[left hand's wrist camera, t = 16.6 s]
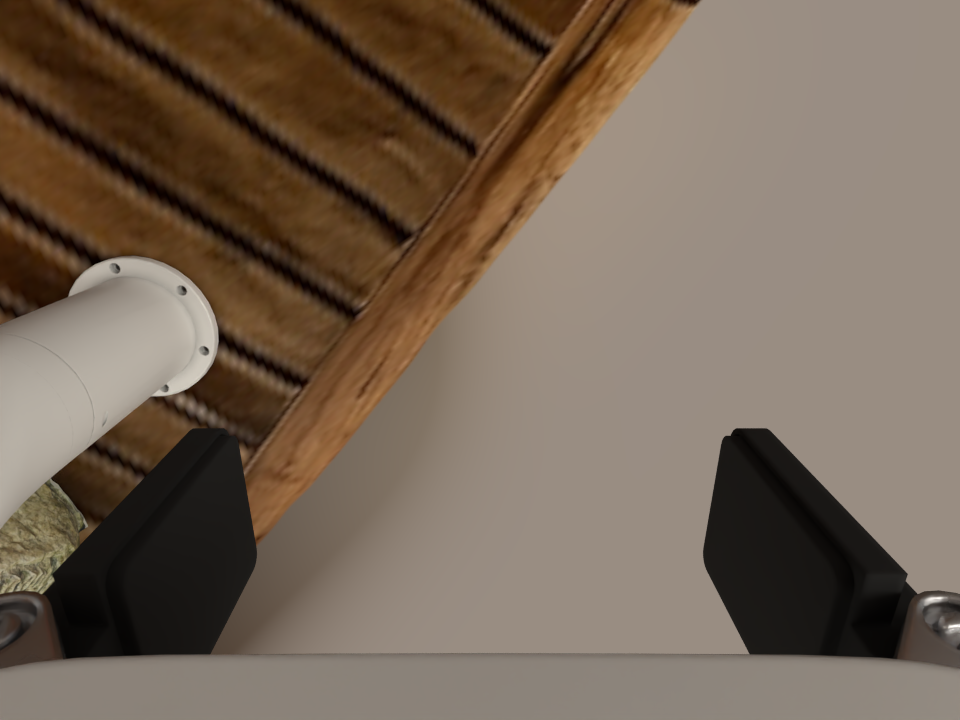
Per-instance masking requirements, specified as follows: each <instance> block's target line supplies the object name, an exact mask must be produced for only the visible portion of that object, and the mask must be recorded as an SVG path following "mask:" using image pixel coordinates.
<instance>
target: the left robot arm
mask: <svg viewBox="0 0 960 720" xmlns="http://www.w3.org/2000/svg"><path fill="white" fill-rule="evenodd" d="M118 265H119V266H118ZM119 267H120V268H119ZM184 287H185V288H186V290H185V289H184ZM218 342H219V339H218V327H217V323H216V319H215V315H214V313H213V311H212V309H211V306H210V304H209V302H208V301H207V299H206V298H205V296H204V295H203V294H202V292H201V291H200V289H199V288H198V287H197V286H196V285H195V284H194V283H193V282H192V281H191V280H190V279H189V278H187V277H186V276H185V275H183V274H182V273H181V272H179V271H178V270H176V269H174V268H173V267H171V266H169V265H167V264H165V263H163V262H160V261H157V260H154V259H151V258H146V257H139V256H120V257H116V258H112V259H107V260H105V261H102V262H100V263H97V264H95V265H93V266H92V267H90V268H89V269H87V270H86V271H84V272H83V273H82V274H81V275H80V276H79V278H78V279H77V280H76V281H75V283H74V285H73V286H72V288H71V290H70V292H69V296H68V297H67V298H65V299H62V300H60V301H57V302H55V303H52V304H50V305H47V306H45V307H42V308H40V309H37V310H35V311H33V312H30V313H28V314H25V315H23V316H20V317H18V318H15V319H13V320H10V321H8V322H5V323H3V324H1V325H0V529H1V528H2V526H3V525H4V524H5V523H6V522H7V520H8V519H9V518H10V517H11V516H12V515H13V513H14V512H15V511H16V510H17V509H18V508H19V507H20V506H21V505H22V504H23V503H24V502H25V501H26V500H27V499H28V498H29V497H30V496H31V495H32V494H33V493H34V492H35V491H36V490H38V489H39V488H40V487H41V486H42V485H43V484H44V483H45V482H47V481H48V480H49V479H50V478H51V477H52V476H54V475H55V474H56V473H57V472H58V471H59V470H61V469H62V468H63V467H64V466H65V465H67V464H68V463H69V462H70V461H72V460H73V459H74V458H75V457H77V456H78V455H79V454H80V453H82V452H83V451H84V450H85V449H87V448H88V447H89V446H90V445H91V444H93V443H94V442H95V441H96V440H98V439H99V438H100V437H101V436H103V435H104V434H105V433H106V432H107V431H109V430H110V429H111V428H112V427H114V426H115V425H116V424H117V423H118V422H120V421H121V420H122V419H123V418H125V417H126V416H127V415H128V414H130V413H131V412H132V411H133V410H134V409H136V408H137V407H138V406H139V405H141V404H142V403H143V402H144V401H146V400H147V399H148V398H149V397H150V396H166V395H171V394H176V393H179V392H181V391H183V390H185V389H188V388H189V387H191V386H192V385H193V384H195V383H196V382H198V381H199V380H200V379H201V378H202V377H203V376H204V375H205V374H206V373H207V371H208V370H209V368H210V367H211V365H212V364H213V361H214V359H215V356H216V354H217V348H218ZM206 347H207V348H208V349H209V350H208V349H207V348H206ZM256 558H257V549H256V543H255V537H254V531H253V525H252V519H251V513H250V508H249V502H248V496H247V490H246V484H245V478H244V472H243V467H242V461H241V455H240V449H239V444H238V440H237V438H236V437H235V436H229V434H228V432H227V430H225V429H224V428H195V429H192V430H190V431H189V432H188V433H187V434H186V435H185V436H184V437H183V438H182V439H181V440H180V441H179V443H178V444H177V445H176V446H175V447H174V448H173V449H172V450H171V451H170V452H169V453H168V454H167V455H166V456H165V457H164V458H163V459H162V460H161V461H160V462H159V463H158V464H157V465H156V467H155V468H154V469H153V470H152V471H151V472H150V473H149V474H148V475H147V476H146V477H145V478H144V479H143V480H142V481H141V482H140V483H139V484H138V485H137V486H136V487H135V488H134V489H133V490H132V492H131V493H130V494H129V495H128V496H127V497H126V498H125V499H124V500H123V501H122V502H121V503H120V504H119V505H118V506H117V507H116V508H115V509H114V510H113V511H112V512H111V513H110V514H109V515H108V517H107V518H106V519H105V520H104V521H103V522H102V523H101V524H100V525H99V526H98V527H97V528H96V529H95V530H94V531H93V532H92V533H91V534H90V535H89V536H88V537H87V538H86V539H85V540H84V542H83V543H82V544H81V545H80V546H79V547H78V548H77V549H76V550H75V551H74V552H73V553H72V554H71V555H70V556H69V557H68V558H67V559H66V560H65V561H64V562H63V563H62V564H61V566H60V567H59V568H58V569H57V570H56V571H55V572H54V573H53V574H52V575H53V578H54V582H53V583H52V584H51V585H50V587H49V588H48V589H47V590H46V591H45V592H44V593H43V594H40V593H38V592H35V591H15V592H8V593H2V594H0V720H960V594H958V593H952V592H945V591H925V592H922V593H920V594H917V593H916V592H915V591H914V590H913V589H912V588H911V587H910V586H909V584H908V583H907V582H906V578H907V575H908V574H907V573H906V572H905V571H904V570H903V569H902V568H901V567H900V566H899V564H898V563H897V562H896V561H895V560H894V559H893V558H892V557H891V556H890V555H889V554H888V553H887V552H886V551H885V550H884V549H883V548H882V547H881V546H880V545H879V544H878V543H877V542H876V540H875V539H874V538H873V537H872V536H871V535H870V534H869V533H868V532H867V531H866V530H865V529H864V528H863V527H862V526H861V525H860V524H859V523H858V522H857V521H856V520H855V519H854V518H853V517H852V515H851V514H850V513H849V512H848V511H847V510H846V509H845V508H844V507H843V506H842V505H841V504H840V503H839V502H838V501H837V500H836V499H835V498H834V497H833V496H832V495H831V494H830V493H829V492H828V490H827V489H825V487H824V486H823V485H822V484H821V483H820V482H819V481H818V480H817V479H816V478H815V477H814V476H813V475H812V474H811V473H810V472H809V471H808V470H807V469H806V468H805V467H804V465H803V464H802V463H801V462H800V461H799V460H798V459H797V458H796V457H795V456H794V455H793V454H792V453H791V452H790V451H789V450H788V449H787V448H786V447H785V446H784V445H783V444H782V443H781V441H780V440H779V439H778V438H777V437H776V436H775V435H774V434H773V433H772V432H771V431H770V430H768V429H765V428H737V429H735V430H733V432H732V434H731V436H725V437H724V438H723V440H722V444H721V449H720V455H719V461H718V467H717V473H716V478H715V484H714V490H713V496H712V502H711V508H710V513H709V519H708V525H707V531H706V537H705V543H704V549H703V558H704V564H705V567H706V570H707V572H708V574H709V576H710V578H711V580H712V582H713V584H714V585H715V587H716V589H717V591H718V593H719V595H720V597H721V599H722V601H723V603H724V605H725V607H726V609H727V611H728V613H729V615H730V617H731V619H732V621H733V622H734V624H735V626H736V628H737V630H738V632H739V634H740V636H741V638H742V640H743V642H744V644H745V646H746V648H747V650H748V652H749V654H560V653H556V654H555V653H430V654H429V653H425V654H424V653H422V654H216V655H215V654H212V655H210V654H211V652H212V650H213V648H214V646H215V644H216V642H217V640H218V638H219V636H220V634H221V632H222V630H223V628H224V626H225V624H226V623H227V621H228V619H229V617H230V615H231V613H232V611H233V609H234V607H235V605H236V603H237V601H238V599H239V597H240V595H241V593H242V591H243V589H244V587H245V585H246V584H247V581H248V580H249V578H250V576H251V574H252V572H253V570H254V567H255V564H256Z"/></svg>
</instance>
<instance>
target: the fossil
mask: <svg viewBox="0 0 960 720" xmlns="http://www.w3.org/2000/svg"><path fill="white" fill-rule="evenodd" d="M86 527H88V525H87V523H86V521H85V519H84V517H83V515H82V513H81V512H80V511H79V510H78V509H77V508H76V507H75V505H74V504H73V503H72V501H71V500H70V498H69V497H68V496H67V495H66V494H65V493H64V492H63V490H62V489H61V488H60V487H59V485H58V484H57V483H55V482H54V481H52V479H51V478H50V479H49V480H48V481H47V482H45V483H44V484H43V485H42V486H41V487H40V488H39V489H38V490H36V491H35V492H34V493H33V494H32V495H31V496H30V497H29V498H28V499H27V500H26V501H25V502H24V503H23V504H22V505H21V506H20V507H19V508H18V509H17V510H16V511H15V512H14V513H13V515H12V516H11V517H10V518H9V519H8V520H7V522H6V523H5V524H4V525H3V526H2V528H1V529H0V594H2V593H8V592H15V591H35V592H38V593H40V594H43V593H44V592H45V591H46V590H47V589H48V588H49V587H50V585H51V584H52V583H53V582H54V578H53V575H52V574H53V573H54V572H55V571H56V570H57V569H58V568H59V567H60V566H61V564H62V563H63V562H64V561H65V560H66V559H67V558H68V557H69V556H70V555H71V554H72V553H73V552H74V551H75V550H76V549H77V548H78V547H79V532H80V531H82V530H83V529H85V528H86Z"/></svg>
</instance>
